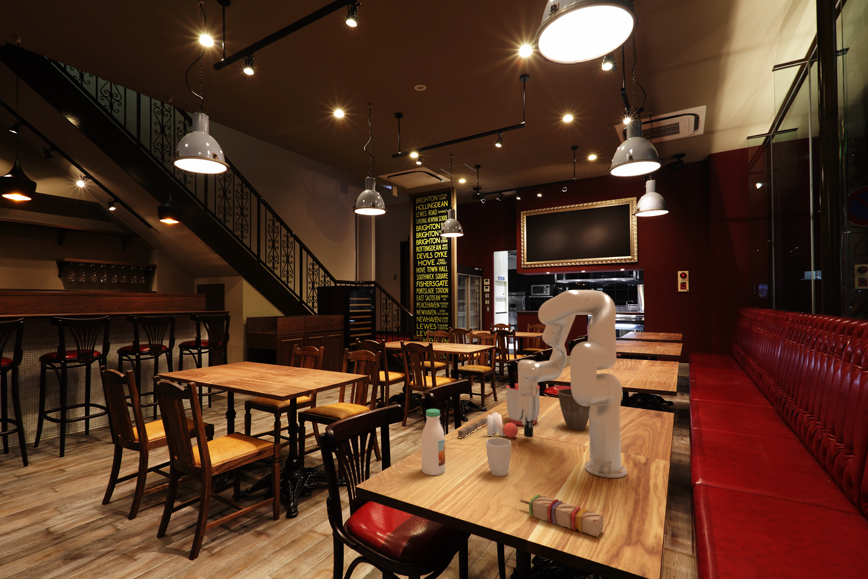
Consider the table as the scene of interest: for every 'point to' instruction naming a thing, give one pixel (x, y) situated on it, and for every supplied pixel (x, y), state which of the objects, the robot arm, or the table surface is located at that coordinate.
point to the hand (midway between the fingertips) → (528, 436)
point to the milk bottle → (433, 444)
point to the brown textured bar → (471, 427)
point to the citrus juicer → (513, 404)
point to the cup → (498, 455)
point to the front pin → (499, 425)
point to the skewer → (565, 515)
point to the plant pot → (573, 411)
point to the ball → (510, 430)
